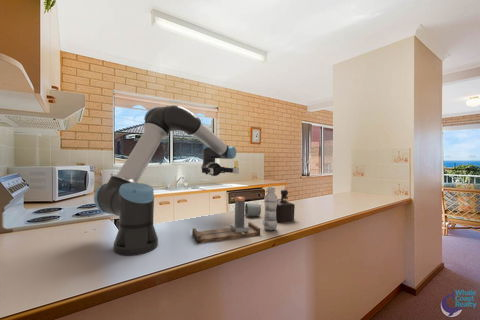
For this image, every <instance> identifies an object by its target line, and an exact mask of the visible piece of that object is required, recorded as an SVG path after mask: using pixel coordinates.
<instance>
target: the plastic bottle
mask: <svg viewBox="0 0 480 320" xmlns="http://www.w3.org/2000/svg"><path fill="white" fill-rule="evenodd" d="M275 192H276V187H267V188H266V194H265V196H264V198H263V202H264V203H263V204H264V216H263V217H264V218H263V223H262V224H263V228H264V230H267V231H275V230H276V229H277V227H278V222H277V220H276V207H277V201H278V199H279V198H278V196H277V194H276V193H275Z"/></svg>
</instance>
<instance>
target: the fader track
mask: <svg viewBox="0 0 480 320" xmlns="http://www.w3.org/2000/svg"><path fill="white" fill-rule="evenodd" d="M247 226H248V227H249V232H242V233H235V232H234V231H233V230H232V229H230V227H224V228H216V229H208V230H197V229H196V228H194V227H193V228H192V232H191V233H192V235H191V236H192V237H193V239H194V241H195V242H196V243H197V244H198V245H199V244H205V243H206V244H207V243H212V242H220V241H227V240H228V241H229V240H234V239H235V240H237V239H242V238H250V237H257V236H261V227H259V226H258V225H255V224H254V223H253V222H251V221H250V222H248V223H247Z"/></svg>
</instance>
